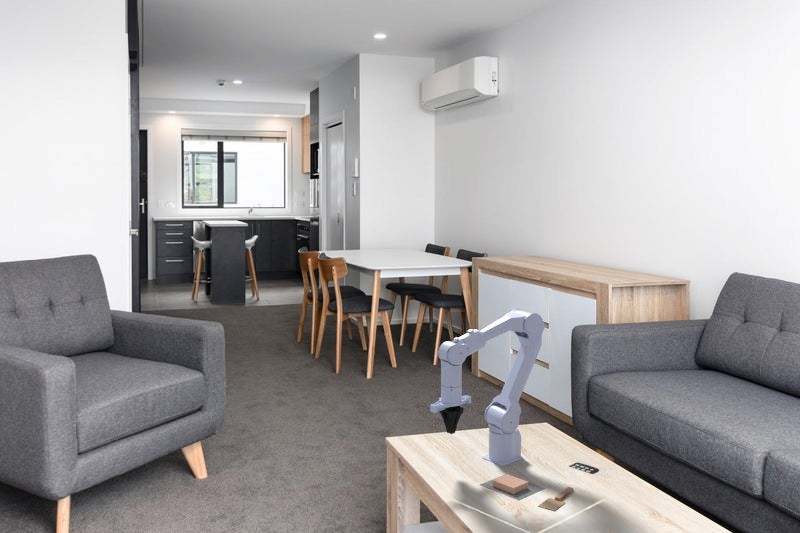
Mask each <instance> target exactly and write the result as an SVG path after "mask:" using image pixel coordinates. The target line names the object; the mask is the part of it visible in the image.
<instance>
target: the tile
mask: <svg viewBox="0 0 800 533" xmlns="http://www.w3.org/2000/svg"><path fill="white" fill-rule="evenodd" d="M503 475H504V476H503ZM503 475H501V477H500V476H498V477H499V478H498V477H495V478H496V479H495V478H493V479H494V480H493V479H492V480H493V483H492V486H494V487H496V488H499V489H501V490H504V491H507V492H509V493H512V494H515V493H517V492H520V491H522V490H524V489H527V488H528V482H529V481H528V480H524V479H521V478H518V477H517V476H516V477H515V476H512V475H511V474H507V473H506V475H505V474H503Z"/></svg>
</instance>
